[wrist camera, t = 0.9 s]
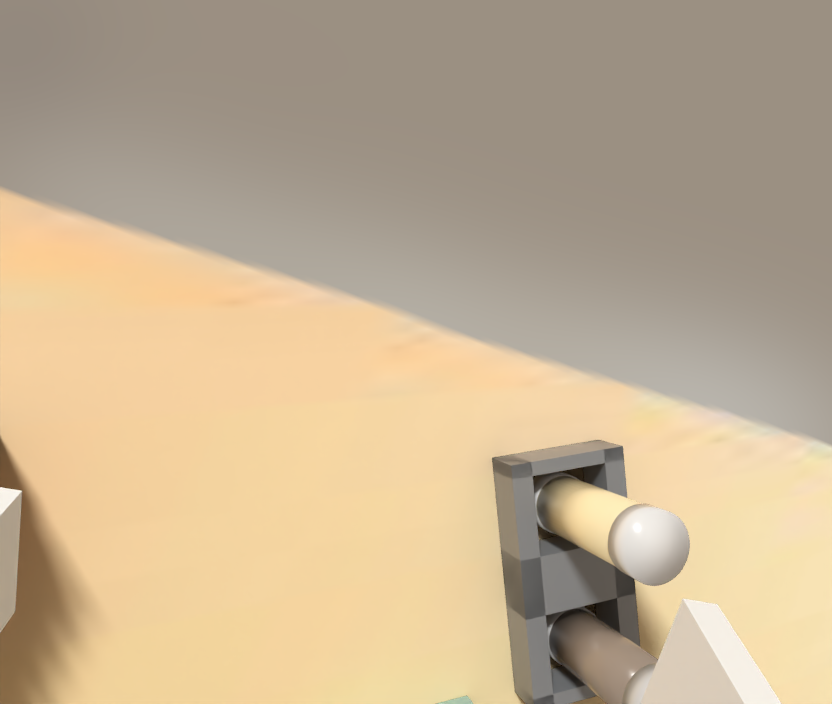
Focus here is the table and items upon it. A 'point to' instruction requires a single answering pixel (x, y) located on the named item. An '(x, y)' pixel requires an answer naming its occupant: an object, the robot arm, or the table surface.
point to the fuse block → (555, 567)
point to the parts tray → (458, 701)
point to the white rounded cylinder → (613, 527)
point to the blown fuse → (599, 656)
